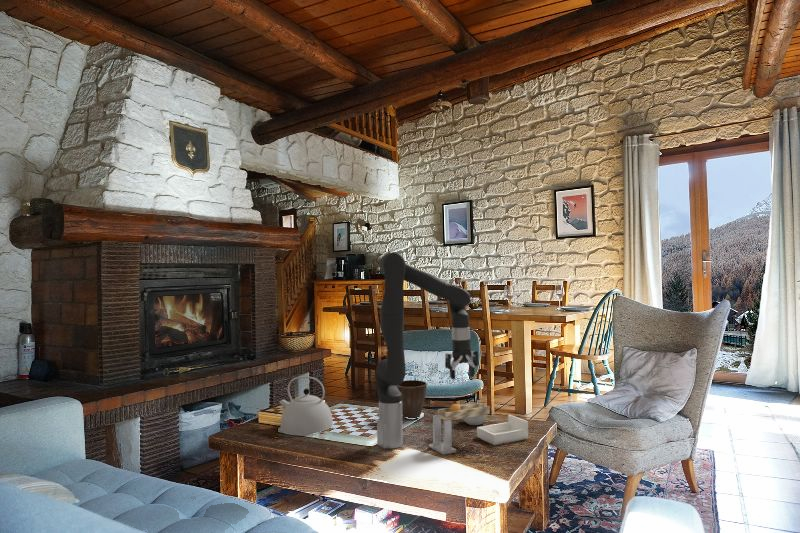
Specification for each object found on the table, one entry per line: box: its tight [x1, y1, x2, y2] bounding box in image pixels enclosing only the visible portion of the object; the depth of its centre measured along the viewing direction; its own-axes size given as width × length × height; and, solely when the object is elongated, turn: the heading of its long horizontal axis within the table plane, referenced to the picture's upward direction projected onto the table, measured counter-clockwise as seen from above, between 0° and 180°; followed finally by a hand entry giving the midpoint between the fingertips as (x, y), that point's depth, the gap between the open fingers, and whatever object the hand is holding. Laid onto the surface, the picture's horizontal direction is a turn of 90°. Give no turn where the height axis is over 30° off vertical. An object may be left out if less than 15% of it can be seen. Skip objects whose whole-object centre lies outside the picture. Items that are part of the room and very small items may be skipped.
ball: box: [449, 403, 460, 412], centre depth 201 cm, size 4×4×4 cm
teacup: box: [462, 401, 487, 426], centre depth 233 cm, size 14×11×8 cm
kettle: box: [278, 375, 334, 436], centre depth 229 cm, size 25×23×23 cm
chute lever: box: [437, 402, 491, 421], centre depth 207 cm, size 20×15×3 cm
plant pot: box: [397, 379, 428, 418], centre depth 242 cm, size 15×15×16 cm
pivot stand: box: [428, 414, 457, 456], centre depth 198 cm, size 6×10×12 cm, turn 27°
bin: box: [476, 414, 529, 446], centre depth 211 cm, size 17×12×7 cm
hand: (462, 377), depth 212 cm, fingers open, 8 cm apart
